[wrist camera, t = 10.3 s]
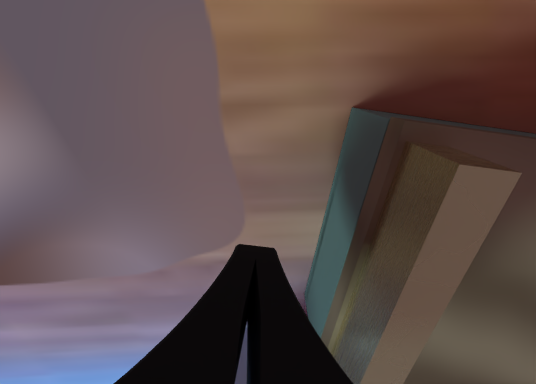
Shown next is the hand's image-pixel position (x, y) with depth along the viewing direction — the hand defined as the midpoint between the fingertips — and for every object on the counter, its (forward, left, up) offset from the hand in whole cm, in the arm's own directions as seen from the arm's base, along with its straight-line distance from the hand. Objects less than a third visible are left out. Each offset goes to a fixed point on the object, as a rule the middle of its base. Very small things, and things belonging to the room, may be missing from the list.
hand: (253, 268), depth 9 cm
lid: (-1, -10, -2) cm, 10 cm away
